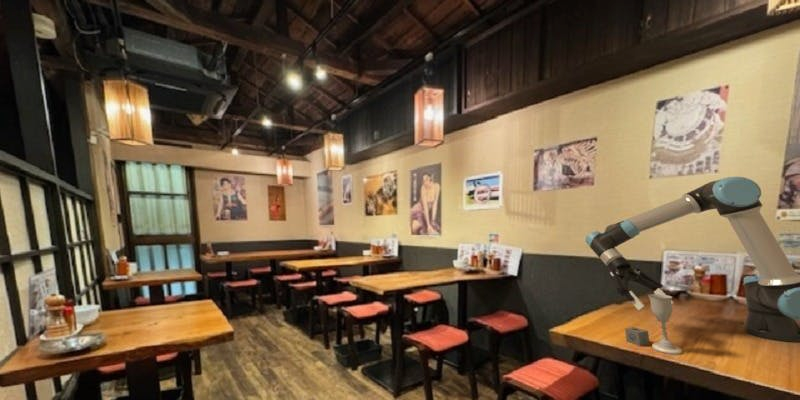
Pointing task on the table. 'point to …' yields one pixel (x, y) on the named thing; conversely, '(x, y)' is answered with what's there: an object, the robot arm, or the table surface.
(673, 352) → the coaster
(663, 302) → the chalice
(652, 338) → the table surface
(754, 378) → the table surface
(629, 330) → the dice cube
